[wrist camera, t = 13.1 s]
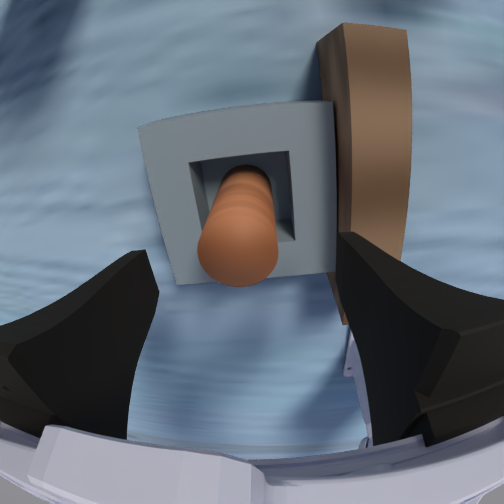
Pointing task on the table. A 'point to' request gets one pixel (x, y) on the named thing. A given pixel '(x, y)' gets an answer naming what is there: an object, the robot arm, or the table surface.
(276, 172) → the socket block
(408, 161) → the walnut wall
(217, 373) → the table surface
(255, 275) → the dowel
